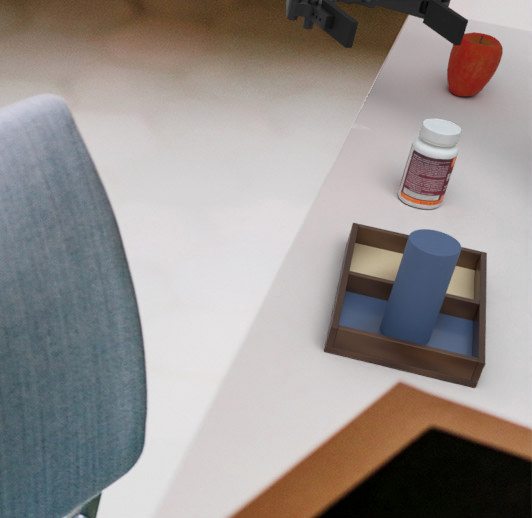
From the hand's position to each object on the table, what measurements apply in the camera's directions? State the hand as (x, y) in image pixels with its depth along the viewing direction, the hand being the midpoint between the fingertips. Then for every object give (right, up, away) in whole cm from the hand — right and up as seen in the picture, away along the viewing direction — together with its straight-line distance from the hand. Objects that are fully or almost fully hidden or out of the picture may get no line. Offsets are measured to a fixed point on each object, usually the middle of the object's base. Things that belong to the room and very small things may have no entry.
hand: (407, 34), depth 125 cm
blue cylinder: (-6, -33, -21) cm, 40 cm away
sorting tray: (-5, -31, -16) cm, 35 cm away
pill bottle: (+2, -17, +2) cm, 17 cm away
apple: (+15, +2, +28) cm, 31 cm away
